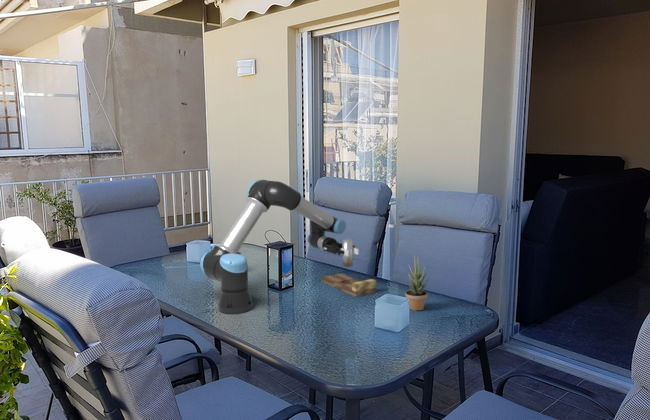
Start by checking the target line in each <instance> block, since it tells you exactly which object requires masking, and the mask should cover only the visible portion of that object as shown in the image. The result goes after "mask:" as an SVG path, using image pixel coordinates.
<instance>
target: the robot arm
mask: <svg viewBox="0 0 650 420" xmlns="http://www.w3.org/2000/svg"><path fill="white" fill-rule="evenodd" d="M247 188H248V189H247V192H248V193H247V197H246V202H247V203H246V205H244V208H243V209H242V210H241V212H240V213H239V215H238V216H237V218H236V219H235V221H234V223H233V224H232V226H231V227H230V229H229V230H228V232H227V233H226V234H225V236H224V237H223V239H222V241H221V242H220V243H219V244H215V246H214V247H213V249H211V251H207V252H205V253H204V254H203V255H202V257H201V258H200V260H199V266H200V270H201V271H200V272H202V274H203V275H204V276H205V277H206V278H207V277H208V279H211V280H216V281H218V282H220V290H221V291H220V295H219V299H218V302H217V310H218V312H220V313H222V314H227V313H229V314H231V315H232V314H233V315H234V314H235V315H236V314H243V313H246V312H249V311H251V310H253V308H254V307H253V305H254V303H253V299H252V297H251V294H250V291H249V276H248V275H249V274H248V272H249V270H248V268H249V265H248V259H247V258H246V257H245V255H243V254H241V255H240V254H236V253H237V252H239V250H240V249H241V247H242V245H243V244H244V242H245V241H246V239H247V237H249V234H250V233H251V231H253V228H254V227H255V225H256V224H257V222H258V221H259V219H260V217H261V216H262V215H263V213H267V212H268V211H269V210H270V208H271V206H273V207H274V206H276V207H280V208H284V209H286V210H288V211H294V212H296V213H298V214H300V215H301V216H303V217H305V218H306V219H308V220H310V233H309V234H308V236H307V244H309V246H311V247H312V248H316V249H319V250H322V251H324V252H327V253H330V254H334V255H337V256H341V255H342V254H343V255H345V256H350V251H349V250H346V249H343V248H342V243H341V242H339V241H337V240H336V239H335V238H334V237H330V236H328V235H326V232H329V233H333V234H338V235H339V234H340V235H341V234H343V233H344V232H345V231H346V228H347V224H346V221H345V220H344V219H341V218H336V217H335V216H334V215H331V214H330V213H328V211H326V210H324V209H323V208H320V207H319V206H317V205H316V204H314V203H312V202H311V201H309V200H307V199H306V198H305V197H303V196H302V194H301V193H300V192H299V191H297V190H295V189H294V188H293V187H291V186H289V185H288V184H286V183H284V182H281V181H278V180H267V179H257V180H254V181H253V182H251V183H250V185H249V186H248V187H247ZM353 255H357V256H358V255H360V249H359V248H356V246H355V245H353Z"/></svg>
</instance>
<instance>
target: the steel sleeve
mask: <svg viewBox="0 0 650 420" xmlns="http://www.w3.org/2000/svg"><path fill="white" fill-rule="evenodd" d="M353 244H354V243H353V239H352V238H343V239H342V248H343V249H346V250H349V251H350V256H345V255H343V254H341V256H342V257H341V259H342V261H341V262H342V267H344V268H351V267H353V266H354V265H353V263H354V262H353V259H354V257H353V255H354V253H353Z"/></svg>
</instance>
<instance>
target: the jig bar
mask: <svg viewBox="0 0 650 420" xmlns="http://www.w3.org/2000/svg"><path fill="white" fill-rule="evenodd" d="M321 282H322V283H325V284H327V285H329V286H331V287H333V288H335V289H338V290H340V291H343V292H344V293H346V294H349V295H351V296H353V297H355V298H357V297H361V296H366V295H370V294H374V293H377V280H376V279H374V278H370V279H365V280H358V279H357V278H354V277H351V276H349V275H347V274H345V273H342V272H341V273H340V272H339V273H335V274H330V275H322V276H321Z"/></svg>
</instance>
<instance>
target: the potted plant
mask: <svg viewBox="0 0 650 420" xmlns="http://www.w3.org/2000/svg"><path fill="white" fill-rule="evenodd" d="M419 256H420V255H417V258H416V254H414V257H413V258H414V260H413V261H414V270H413V269H412V267H411V265H410V263H408V267H409V269H410V271H408V274H407V277H408V279H409V281H410V282H409V281H408V283H407V284H408V285H409V286H408V287H409V290H407V291H405V293H404V295H405V296H404V297H405V298H406V299H407V298H408V299H409V304H410V309H412V310H422V309H423V310H424V309H425V304H426V302H427V298H428V297H429V296H428V293H429V292H427V291H425V288H426V286H427V283H428V282H429V279H430V277H428V278H427V279H426V276H427V273H425V271H426V265H425V266H424V267H423V269H422V271H420V270H421V268H420V267H421V265H420V257H419ZM416 259H417V260H416ZM424 279H426V281H425V280H424ZM409 304H408V305H409ZM410 309H409V310H410ZM412 310H411V311H412ZM423 310H422V311H423Z"/></svg>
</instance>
